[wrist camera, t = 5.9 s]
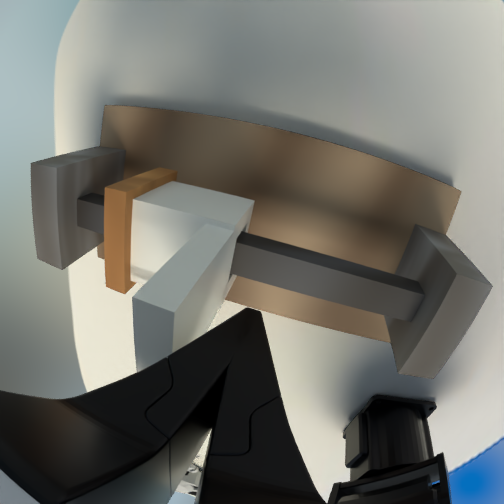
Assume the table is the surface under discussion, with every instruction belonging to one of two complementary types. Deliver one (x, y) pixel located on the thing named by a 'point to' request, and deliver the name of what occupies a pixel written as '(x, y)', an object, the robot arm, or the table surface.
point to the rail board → (278, 225)
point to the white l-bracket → (181, 264)
